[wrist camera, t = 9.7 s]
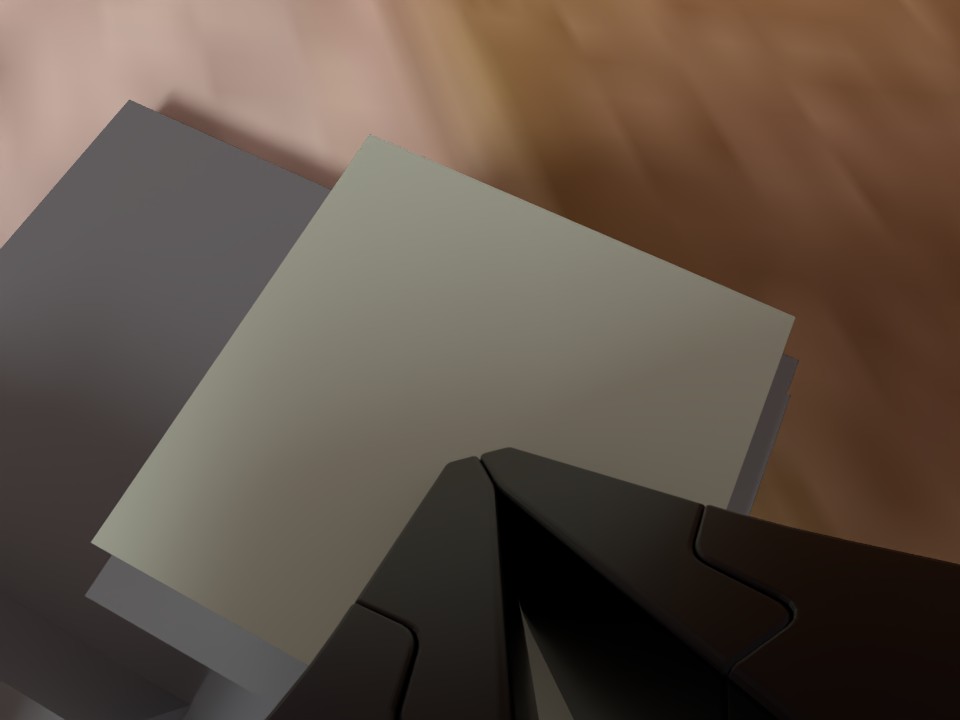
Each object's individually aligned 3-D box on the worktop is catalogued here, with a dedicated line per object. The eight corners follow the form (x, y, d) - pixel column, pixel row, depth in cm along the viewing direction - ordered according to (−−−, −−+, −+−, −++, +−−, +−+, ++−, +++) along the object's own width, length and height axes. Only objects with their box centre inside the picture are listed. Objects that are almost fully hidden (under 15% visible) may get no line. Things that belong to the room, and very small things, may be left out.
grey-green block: (684, 412, 15) (799, 306, 10) (550, 746, 13) (609, 834, 7) (397, 280, 16) (365, 120, 11) (223, 565, 14) (76, 535, 8)
